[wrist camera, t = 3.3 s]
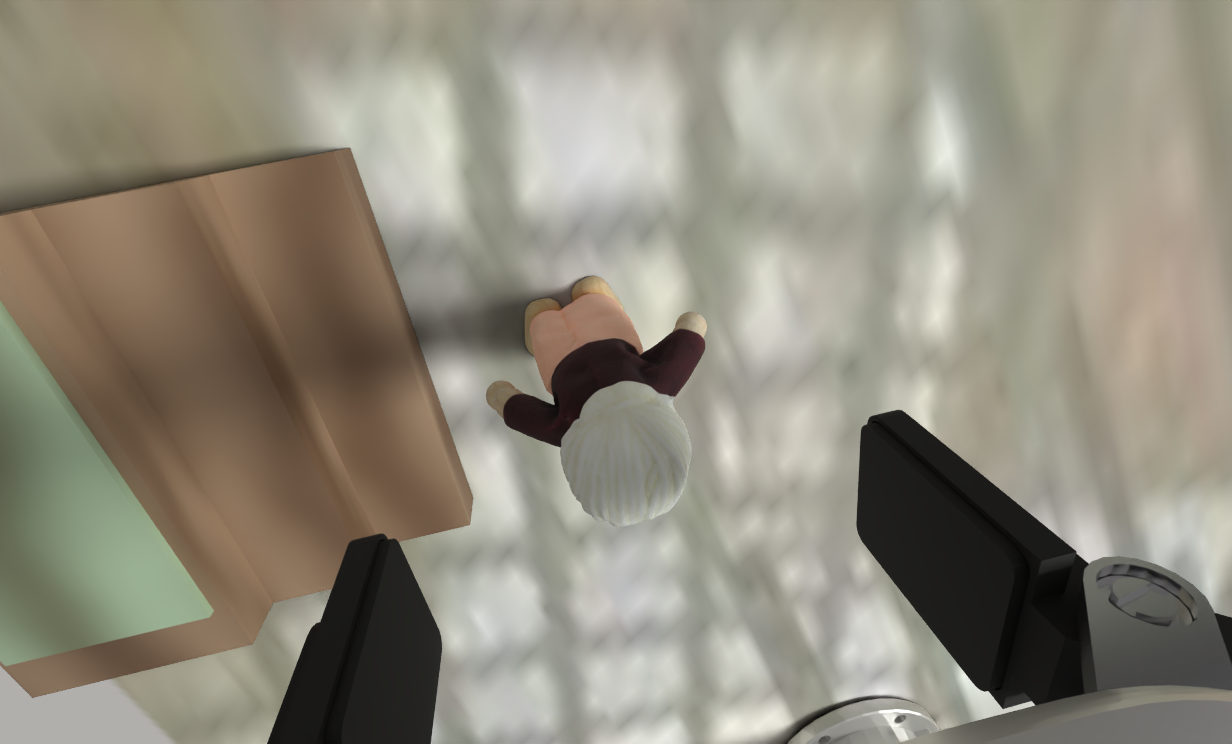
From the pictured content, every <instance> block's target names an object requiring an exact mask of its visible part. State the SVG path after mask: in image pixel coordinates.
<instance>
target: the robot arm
mask: <svg viewBox="0 0 1232 744" xmlns="http://www.w3.org/2000/svg"><path fill="white" fill-rule="evenodd" d="M857 531H858V534H859V536H860V538H861V540H862V542H863V543H864V545H865V546H866V547H867V548H868V550H869V551H870V552H871V554H872V555H873V556H874V557H875V559H876V560H877V561H878V563H879V564H880V565H881V566H882V568H883V569H884V570H885V571H886V573H887V574H888V575H889V577H890V578H891V579H892V580H893V582H894V583H895V584H896V585H897V587H898V588H899V589H900V591H901V592H902V593H903V594H904V596H905V597H906V598H907V600H908V601H909V602H910V603H911V605H912V606H913V607H914V608H915V610H916V611H917V612H918V614H919V615H920V616H921V617H922V619H923V620H924V621H925V623H926V624H927V625H928V626H929V628H930V629H931V630H932V631H933V633H934V634H935V635H936V637H937V638H938V639H939V640H940V642H941V643H942V644H943V645H944V647H945V648H946V649H947V651H948V652H949V653H950V654H951V656H952V657H953V658H954V660H955V661H956V662H957V663H958V665H959V666H960V667H961V668H962V670H963V671H964V672H965V674H966V675H967V676H968V677H969V679H970V680H971V681H972V682H973V684H974V685H975V686H976V687H977V688H979V689H980V690H982V691H984V692H985V691H989V692H990V694H991V695H992V696H993V697H994V699H995V700H996V701H997V702H998V704H999V705H1000V706H1001V707H1002V709H1005V708H1008V707H1012V706H1015V705H1019V704H1022V703H1026V702H1029V701H1032V702H1033V703H1034V704H1035V705H1036V706H1032V707H1028V708H1025V709H1021V710H1017V711H1013V712H1009V713H1005V714H1001V715H997V716H994V717H990V718H986V719H982V720H978V721H974V722H971V723H967V724H964V725H960V726H956V727H953V728H949V729H946V730H942V731H939V729H938V726H937V725H936V723H935V722H934V720H933V719H932V718H931V716H930V715H929V714H928V712H927V711H926V710H925V709H923V708H922V707H921V706H919V705H917V704H915V703H912V702H910V701H906V700H900V699H894V698H879V699H872V700H865V701H860V702H857V703H853V704H849V705H846V706H843V707H841V708H838V709H836V710H833V711H831V712H829V713H827V714H825V715H823V716H821V717H820V718H818V719H816V720H814V721H813V722H812V723H810V724H809V725H807V726H806V727H804V728H803V729H802V730H801V731H799V732H798V733H797V734H796V735H795V736H794V737H793V738H792V739H791V740H790V741H789V742H788V743H787V744H1232V618H1231V617H1227V616H1224V615H1220V614H1217V613H1214V611H1213V609H1212V607H1211V605H1210V604H1209V602H1208V600H1207V598H1206V597H1205V596H1204V595H1203V594H1202V593H1201V592H1200V591H1199V590H1198V589H1197V588H1196V587H1195V586H1194V585H1193V584H1191V583H1190V582H1188V581H1187V580H1185V579H1184V578H1182V577H1181V576H1179V575H1178V574H1176V573H1174V572H1172V571H1170V570H1167V569H1165V568H1163V567H1161V566H1159V565H1156V564H1153V563H1150V562H1146V561H1143V560H1139V559H1135V558H1127V557H1120V556H1118V557H1103V558H1100V559H1098V560H1095V561H1092V562H1091V563H1090V564H1088V563H1087V562H1086V561H1085V560H1083V559H1082V558H1081V557H1080V556H1079V555H1077V554H1076V551H1075V550H1074V549H1073V548H1071V547H1070V546H1069V545H1068V544H1067V543H1065V542H1064V541H1063V540H1062V539H1060V538H1059V537H1058V536H1057V535H1055V534H1054V533H1053V532H1052V531H1051V530H1049V529H1048V528H1047V527H1046V526H1044V525H1043V524H1042V523H1041V522H1039V521H1038V520H1037V519H1036V518H1035V517H1033V516H1032V515H1031V514H1030V513H1028V512H1027V511H1026V510H1025V509H1023V508H1022V507H1021V506H1020V505H1018V504H1017V503H1016V502H1015V501H1014V500H1012V499H1011V498H1010V497H1009V496H1007V495H1006V494H1005V493H1004V492H1002V491H1001V490H1000V489H999V488H998V487H996V486H995V485H994V484H993V483H991V482H990V481H989V480H988V479H986V478H985V477H984V476H983V475H982V474H980V473H979V472H978V471H977V470H975V469H974V468H973V467H972V466H970V465H969V464H968V463H967V462H965V461H964V460H963V459H962V458H961V457H959V456H958V455H957V454H956V453H954V452H953V451H952V450H951V449H949V448H948V447H947V446H946V445H945V444H943V443H942V442H941V441H940V440H938V439H937V438H936V437H935V436H933V435H932V434H931V433H930V432H929V431H927V430H926V429H925V428H924V427H922V426H921V425H920V424H919V423H917V422H916V421H915V420H914V419H912V418H911V417H910V416H909V415H908V414H906V413H905V412H903V411H902V410H895V411H891V412H886V413H882V414H878V415H874V416H871V417H870V418H869V420H868V423H867V425H864V426H863V427H862V429H861V441H860V461H859V482H858V503H857ZM441 653H442V641H441V635H440V631H439V629H438V627H437V624H436V622H435V620H434V618H433V616H432V614H431V611H430V609H429V607H428V605H427V603H426V601H425V598H424V596H423V594H422V592H421V590H420V588H419V585H418V583H417V581H416V579H415V577H414V575H413V572H412V570H411V568H410V566H409V564H408V562H407V559H406V557H405V555H404V553H403V551H402V549H401V546H400V544H399V542H398V541H397V540H396V539H395V538H392V539H388V538H387V536H386V535H385V534H383V533H380V534H376V535H372V536H368V537H363V538H359V539H355V540H352V541H351V542H349V544H348V546H347V549H346V552H345V554H344V557H343V560H342V563H341V566H340V568H339V571H338V574H337V577H336V580H335V582H334V585H333V588H332V591H331V594H330V596H329V599H328V602H327V605H326V608H325V611H324V613H323V616H322V619H321V622H319V623H316V624H315V625H314V626H313V627H312V628H311V630H310V632H309V634H308V636H307V638H306V641H305V643H304V646H303V649H302V651H301V654H300V657H299V659H298V662H297V665H296V667H295V670H294V673H293V676H292V678H291V681H290V684H289V686H288V689H287V692H286V694H285V697H284V700H283V702H282V705H281V708H280V711H279V713H278V716H277V719H276V721H275V724H274V727H273V729H272V732H271V735H270V737H269V740H268V743H267V744H431V736H432V728H433V719H434V711H435V703H436V695H437V686H438V678H439V670H440V662H441Z"/></svg>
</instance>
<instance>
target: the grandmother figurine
mask: <svg viewBox="0 0 1232 744" xmlns="http://www.w3.org/2000/svg"><path fill="white" fill-rule="evenodd" d="M572 301H573V302H572V303H570V304H569V305H567V306H565V307H564V308H563V309H562V307H561V306H560V304H559V303H558V302H557V301H555V300H553V299H550V298H544V299H538V300H535V301H533V302H531V303H530V304H529V305H528V306H527V308H526V311H525V343H526V347H527V349H528V351H529V352H530V353H531V354H532V355H533V356H535V359H536V362H537V366H538V369H539V372H540V375H541V378H542V380H543V382H544V385H545V388H546V390H547V391H548V392H549V393H551V394H552V395H553V397H554V403H555V405H552V404H550V403H547V402H545V401H542V400H540V399H538V398H536V397H534V396H530V395H527V394H523V393H522V392H521V391H519V390H518V389H515V387H514V386H513V385H512V384H511V383H509V382H507V381H496V382H494V383H492V384H491V385H490V386H489V387H488V389H487V393H486V399H487V402H488V404H489V405H490V406H491V407H492V408H493V409H495V410H496V411H497V412H498V414H499V415H500V416H501V417H503V418H504V421H505V423H506V425H507V426H508V427H510V428H512V429H514V430H516V431H519V432H521V433H523V434H525V435H527V436H530V437H533V438H535V439H537V440H540V441H544V442H546V443H549V444H551V445H554V446H558V447H561V450H560V454H561V462H562V466H563V470H564V474H565V475H566V479H567V481H568V482H569V485H570V488H571V491H572V493H573V494H574V496H575V497H576V499H577V500H578V501H579V502H581V504H582V507H583V509H584V511H585V512H587V513H588V514H590V515H592V517H593V518H594V519H595V520H597V521H602V522H609V523H611V524H612V525H614V526H617V527H622V526H628V525H632V524H635V523H639V522H642V521H647V520H651V519H652V518H654V517H657V516H658V515H660V514H665V513H667V512H668V511H669V510H670V509H671V508H672V507H673V506H674V505H675V503H676V502H677V500H678V499H679V498H680V496H681V494H682V491H683V489H684V487H685V485H686V480H687V476H688V467H689V466H690V462H691V441H690V438H689V436H688V432H687V429H686V426H685V424H684V422H683V421H682V419H681V418H680V417H679V416H678V414H677V412H676V410H675V408H674V407H673V401H674V400H675V396H676V395H677V394H678V392H679V391H680V390H681V388H682V387H683V386H684V384H685V383H686V382H687V380H688V379H689V377H690V376H691V374H692V372H693V371H694V369H695V367H696V365H697V364H698V362H699V360H700V359H701V356H702V355H703V353H704V350H705V341H704V339H703V337H704V335H705V333H706V328H707V324H706V321H705V319H704V318H703V317H702V316H701V315H700V314H698V313H696V312H686V313H684V314H682V315H681V316H680V317H679V318H678V320H677V322H676V325H675V328H674V330H673V332H672V333H670V334H669V335H668V336H666V337H665V338H664V339H663V340H662V341H660V342H659V343H658V344H657V345H655V346H654V347H652V348H651V349H649V350H647V351H645V352H644V353H643V347H642V344H641V342H640V339H639V337H638V334H637V333H636V330H635V328H634V326H633V323H632V321H631V319H630V318H629V317H628V316H627V314H626V313H625V312H624V308H623V306H622V304H621V303H620V301H619V300H618V298H617V297H616V295H615V294H614V293H613V291H612V290H611V288H610V287H609V285H608V284H607V283H606V282H605V281H604V280H603V279H602V278H600V277H597V276H590V277H587V278H584V279H583V280H581V281H579V282H578V283H576V284H575V286H574V287H573V289H572Z"/></svg>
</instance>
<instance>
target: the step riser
mask: <svg viewBox="0 0 1232 744" xmlns="http://www.w3.org/2000/svg"><path fill="white" fill-rule="evenodd" d="M472 504H473V496H472V493H471V490H470V487H469V484H468V481H467V479H466V476H465V473H464V470H463V467H462V464H461V462H460V459H459V456H458V453H457V450H456V447H455V444H454V442H453V439H452V436H451V433H450V430H449V427H448V425H447V422H446V419H445V416H444V413H443V410H442V408H441V405H440V402H439V399H438V396H437V393H436V391H435V388H434V385H433V382H432V379H431V376H430V373H429V371H428V368H427V365H426V362H425V359H424V356H423V354H422V351H421V348H420V345H419V342H418V339H417V337H416V334H415V331H414V328H413V325H412V322H411V320H410V317H409V314H408V311H407V308H406V305H405V302H404V300H403V297H402V294H401V291H400V288H399V285H398V283H397V280H396V277H395V274H394V271H393V268H392V266H391V263H390V260H389V257H388V254H387V251H386V248H385V246H384V243H383V240H382V237H381V234H380V231H379V229H378V226H377V223H376V220H375V217H374V214H373V212H372V209H371V206H370V203H369V200H368V197H367V195H366V192H365V189H364V186H363V183H362V180H361V177H360V175H359V172H358V169H357V166H356V163H355V160H354V158H353V155H352V152H351V149H350V148H346V149H340V150H335V151H330V152H324V153H319V154H314V155H308V156H303V157H298V158H292V159H287V160H282V161H276V162H271V163H266V164H260V165H255V166H250V167H244V168H239V169H233V170H228V171H223V172H217V173H212V174H207V175H201V176H196V177H191V178H185V179H180V180H175V181H169V182H164V183H159V184H153V185H148V186H143V187H137V188H132V189H127V190H121V191H116V192H111V193H105V194H100V195H95V196H89V197H84V198H79V199H73V200H68V201H63V202H57V203H52V204H47V205H41V206H36V207H31V208H25V209H20V210H15V211H9V212H4V213H0V666H2V668H3V669H5V671H6V672H7V673H8V674H9V675H10V676H11V677H12V678H13V679H14V680H15V681H16V682H17V683H18V684H19V685H20V686H21V687H22V688H23V689H24V690H25V691H26V692H27V693H28V694H29V695H30V696H31V697H32V698H33V697H37V696H42V695H46V694H50V693H54V692H58V691H62V690H66V689H71V688H74V687H79V686H83V685H87V684H91V683H95V682H99V681H103V680H108V679H112V678H116V677H120V676H124V675H128V674H132V673H136V672H140V671H144V670H149V669H153V668H157V667H161V666H165V665H169V664H173V663H177V662H181V661H185V660H190V659H194V658H198V657H202V656H206V655H210V654H214V653H218V652H222V651H226V650H231V649H235V648H239V647H243V646H247V645H251V644H253V643H254V641H255V639H256V637H257V634H258V632H259V630H260V628H261V626H262V624H263V622H264V620H265V618H266V616H267V614H268V612H269V610H270V608H271V606H272V604H273V603H274V602H278V601H282V600H286V599H291V598H295V597H299V596H303V595H307V594H312V593H316V592H320V591H324V590H328V589H332V588H333V585H334V582H335V580H336V577H337V574H338V571H339V568H340V566H341V563H342V560H343V557H344V554H345V552H346V549H347V546H348V544H349V542H351V541H352V540H355V539H359V538H363V537H368V536H372V535H376V534H380V533H383V534H385V535H386V536H387V538H388V539H392V538H395V539H396V540H397V541H398V542H400V541H404V540H408V539H412V538H417V537H421V536H425V535H429V534H434V533H438V532H442V531H446V530H451V529H455V528H459V527H463V526H468V525H470V521H471V512H472Z"/></svg>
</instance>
